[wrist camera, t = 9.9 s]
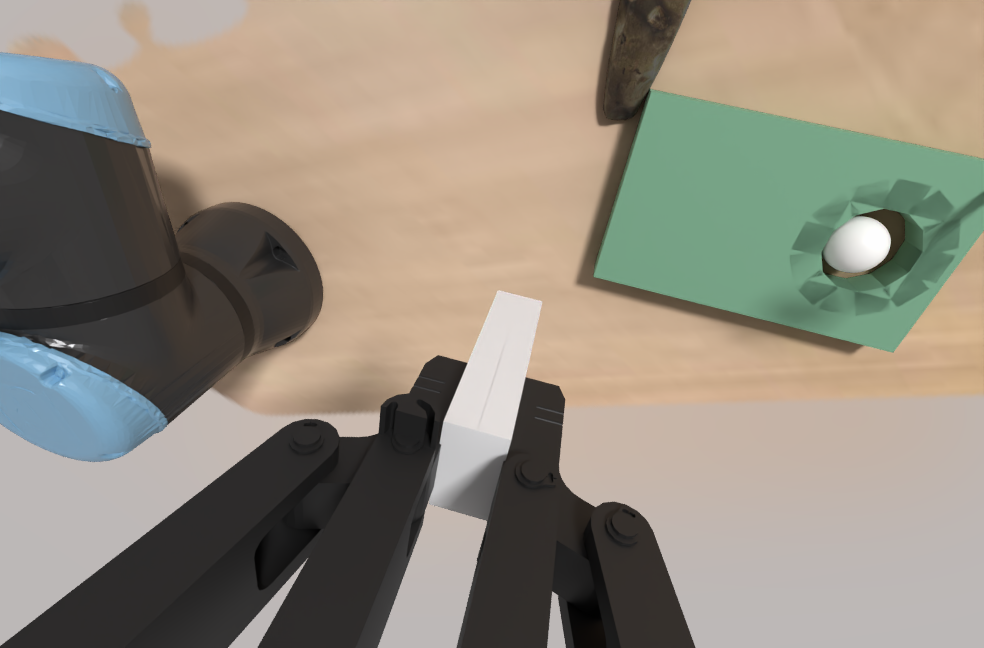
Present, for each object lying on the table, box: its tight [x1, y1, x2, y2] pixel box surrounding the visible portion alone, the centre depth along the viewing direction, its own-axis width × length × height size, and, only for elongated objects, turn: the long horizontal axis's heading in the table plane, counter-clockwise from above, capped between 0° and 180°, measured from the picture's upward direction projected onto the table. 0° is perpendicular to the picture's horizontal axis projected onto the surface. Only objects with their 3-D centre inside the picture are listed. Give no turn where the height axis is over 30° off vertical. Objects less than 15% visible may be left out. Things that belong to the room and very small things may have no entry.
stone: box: [603, 0, 691, 120], centre depth 32 cm, size 13×5×2 cm, turn 172°
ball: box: [822, 216, 891, 273], centre depth 35 cm, size 4×4×4 cm
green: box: [593, 89, 984, 352], centre depth 30 cm, size 24×14×16 cm, turn 81°
